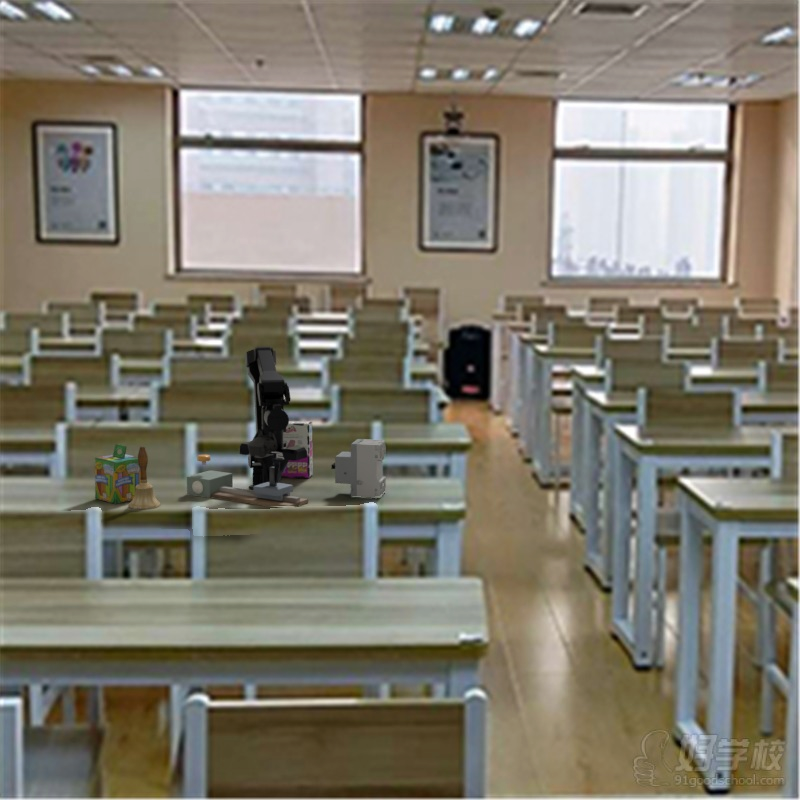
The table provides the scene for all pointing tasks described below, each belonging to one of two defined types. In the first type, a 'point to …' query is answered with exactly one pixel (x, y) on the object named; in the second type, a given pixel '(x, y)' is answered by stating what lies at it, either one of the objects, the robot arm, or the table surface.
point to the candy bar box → (301, 437)
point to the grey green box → (208, 483)
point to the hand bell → (143, 486)
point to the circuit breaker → (362, 468)
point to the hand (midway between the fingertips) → (273, 482)
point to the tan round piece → (203, 458)
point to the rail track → (255, 497)
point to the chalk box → (116, 476)
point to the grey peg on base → (272, 488)
